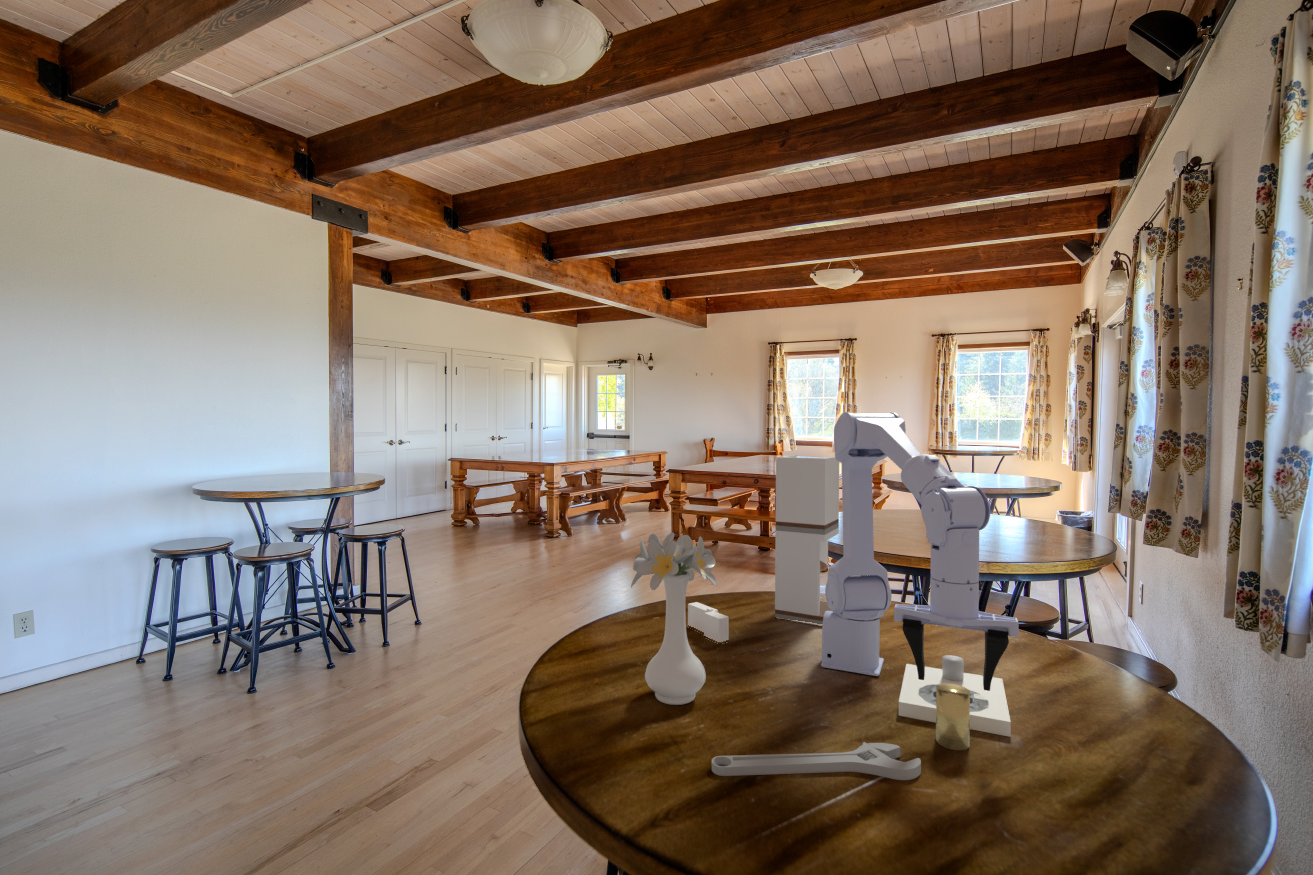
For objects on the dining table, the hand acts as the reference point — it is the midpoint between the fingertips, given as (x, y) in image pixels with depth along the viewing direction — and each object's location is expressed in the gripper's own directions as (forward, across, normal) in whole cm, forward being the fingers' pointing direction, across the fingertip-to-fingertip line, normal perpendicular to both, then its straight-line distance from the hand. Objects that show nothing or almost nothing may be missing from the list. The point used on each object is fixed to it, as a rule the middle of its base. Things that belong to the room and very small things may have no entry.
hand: (953, 682), depth 81 cm
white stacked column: (+8, -29, +47) cm, 56 cm away
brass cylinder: (+8, 0, 0) cm, 8 cm away
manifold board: (+8, 0, +13) cm, 15 cm away
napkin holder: (+8, -44, +25) cm, 52 cm away
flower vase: (+8, -39, -3) cm, 40 cm away
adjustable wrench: (+9, -15, -13) cm, 22 cm away
